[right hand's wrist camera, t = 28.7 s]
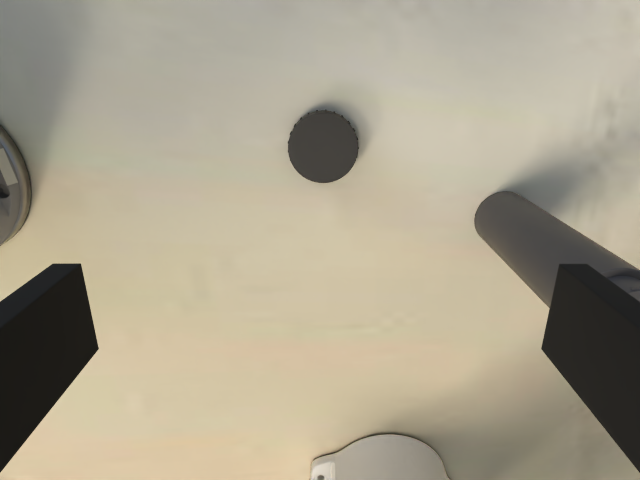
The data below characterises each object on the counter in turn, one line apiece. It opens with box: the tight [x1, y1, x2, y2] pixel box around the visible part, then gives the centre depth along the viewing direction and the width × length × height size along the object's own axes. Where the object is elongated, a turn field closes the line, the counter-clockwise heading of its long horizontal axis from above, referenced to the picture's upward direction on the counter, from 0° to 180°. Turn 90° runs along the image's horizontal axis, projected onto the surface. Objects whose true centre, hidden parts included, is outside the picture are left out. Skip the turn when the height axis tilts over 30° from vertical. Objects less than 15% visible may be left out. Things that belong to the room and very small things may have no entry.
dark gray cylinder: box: [475, 192, 640, 308], centre depth 34 cm, size 5×5×19 cm
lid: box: [288, 110, 359, 183], centre depth 39 cm, size 6×6×2 cm
